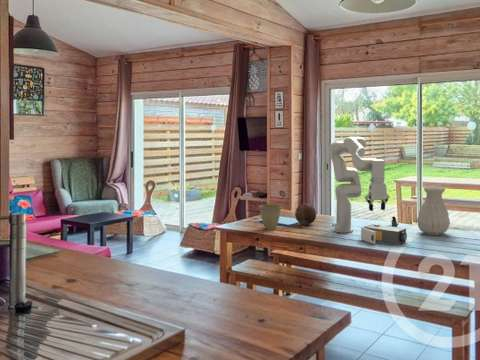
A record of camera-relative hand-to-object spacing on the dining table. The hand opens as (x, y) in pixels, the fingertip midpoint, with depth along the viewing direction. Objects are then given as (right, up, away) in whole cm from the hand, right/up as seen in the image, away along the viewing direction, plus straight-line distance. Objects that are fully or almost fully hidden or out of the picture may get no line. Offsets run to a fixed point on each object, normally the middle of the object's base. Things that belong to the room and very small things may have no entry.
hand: (376, 210), depth 289 cm
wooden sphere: (-34, -14, +59) cm, 70 cm away
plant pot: (-61, -16, +44) cm, 77 cm away
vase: (+44, -17, +28) cm, 55 cm away
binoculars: (+17, -17, +30) cm, 38 cm away
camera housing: (+7, -19, +7) cm, 22 cm away
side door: (-5, -19, +4) cm, 20 cm away
